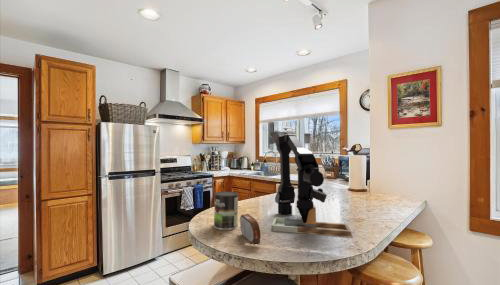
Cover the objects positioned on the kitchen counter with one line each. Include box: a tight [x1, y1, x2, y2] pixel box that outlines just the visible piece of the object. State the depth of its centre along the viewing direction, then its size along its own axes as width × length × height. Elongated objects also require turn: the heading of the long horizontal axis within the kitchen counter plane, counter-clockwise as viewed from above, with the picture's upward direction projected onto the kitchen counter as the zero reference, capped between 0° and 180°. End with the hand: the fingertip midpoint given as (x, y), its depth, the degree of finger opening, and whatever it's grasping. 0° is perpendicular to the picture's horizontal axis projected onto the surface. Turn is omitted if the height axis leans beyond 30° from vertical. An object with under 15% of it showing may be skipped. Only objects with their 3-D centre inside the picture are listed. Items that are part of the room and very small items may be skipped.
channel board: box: [297, 221, 352, 238], centre depth 95 cm, size 20×12×2 cm, turn 77°
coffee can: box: [213, 191, 239, 231], centre depth 101 cm, size 10×10×14 cm
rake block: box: [304, 204, 317, 228], centre depth 96 cm, size 5×5×8 cm
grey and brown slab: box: [239, 213, 261, 245], centre depth 87 cm, size 15×3×8 cm, turn 21°
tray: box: [270, 216, 299, 234], centre depth 99 cm, size 10×12×3 cm
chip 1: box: [283, 215, 296, 226], centre depth 98 cm, size 4×4×4 cm
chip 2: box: [294, 216, 304, 227], centre depth 97 cm, size 4×4×4 cm
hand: (304, 221), depth 97 cm, fingers closed on rake block, 4 cm apart
